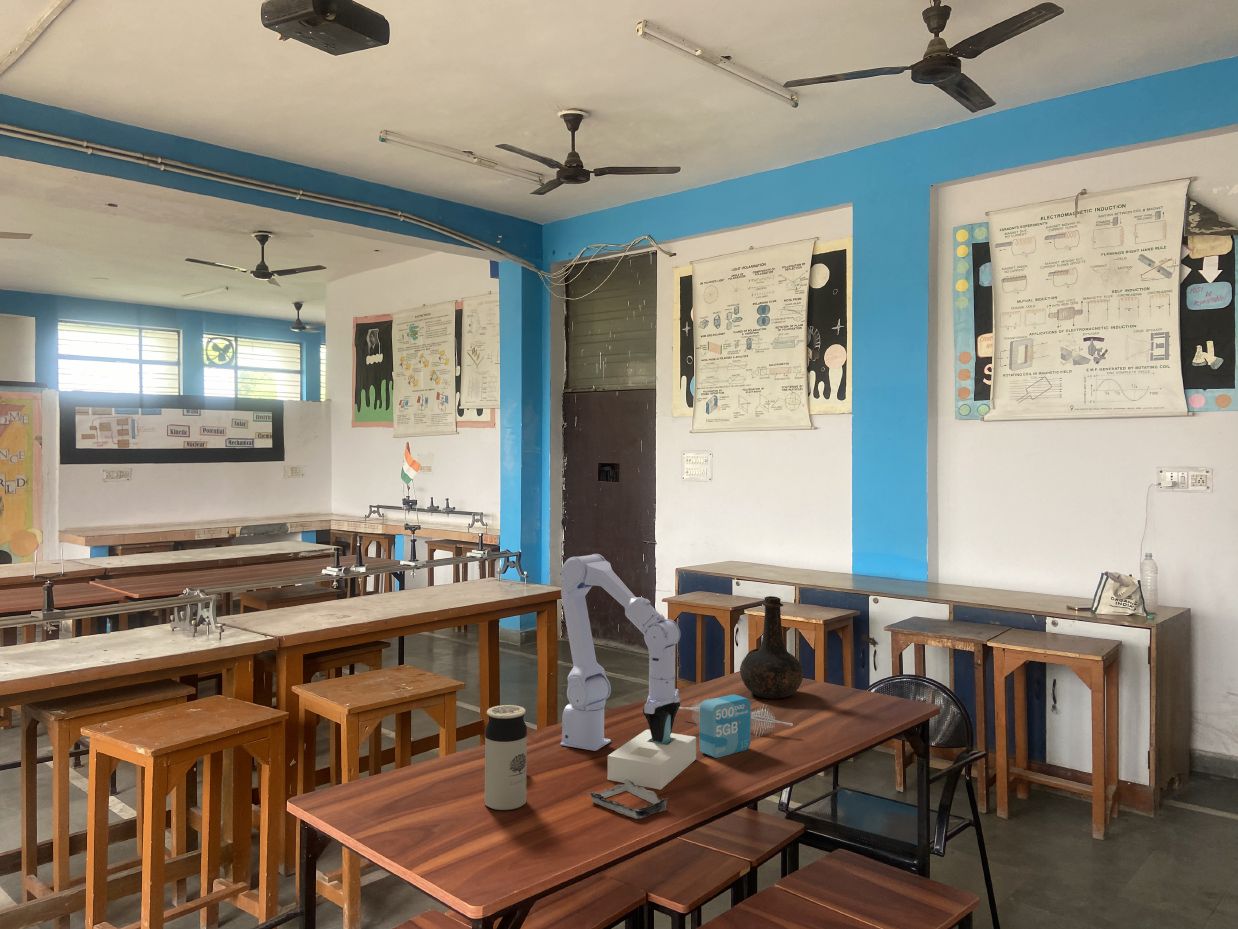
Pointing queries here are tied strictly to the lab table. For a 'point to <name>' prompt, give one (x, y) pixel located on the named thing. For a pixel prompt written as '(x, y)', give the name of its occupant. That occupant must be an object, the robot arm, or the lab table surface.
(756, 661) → the glass bottle
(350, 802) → the lab table surface
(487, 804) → the travel mug
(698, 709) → the test tube brush
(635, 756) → the hole board
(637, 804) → the lab table surface
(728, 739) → the data package
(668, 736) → the pin
